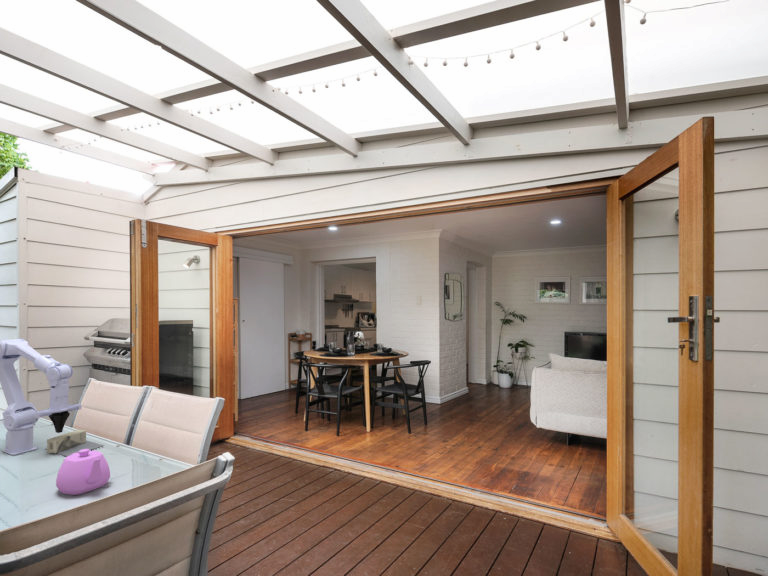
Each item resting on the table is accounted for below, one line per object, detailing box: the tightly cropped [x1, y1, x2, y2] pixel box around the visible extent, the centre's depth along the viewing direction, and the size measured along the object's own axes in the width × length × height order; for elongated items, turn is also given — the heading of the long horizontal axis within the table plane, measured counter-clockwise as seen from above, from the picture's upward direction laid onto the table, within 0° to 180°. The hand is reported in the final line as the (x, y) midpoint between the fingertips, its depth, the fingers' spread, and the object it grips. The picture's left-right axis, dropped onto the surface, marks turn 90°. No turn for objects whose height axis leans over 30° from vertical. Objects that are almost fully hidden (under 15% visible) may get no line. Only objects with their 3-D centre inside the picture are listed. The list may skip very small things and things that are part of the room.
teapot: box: [55, 449, 111, 496], centre depth 131 cm, size 20×13×12 cm, turn 56°
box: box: [46, 429, 87, 454], centre depth 168 cm, size 5×4×13 cm
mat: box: [44, 439, 105, 458], centre depth 168 cm, size 17×13×1 cm
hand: (59, 432), depth 163 cm, fingers closed
